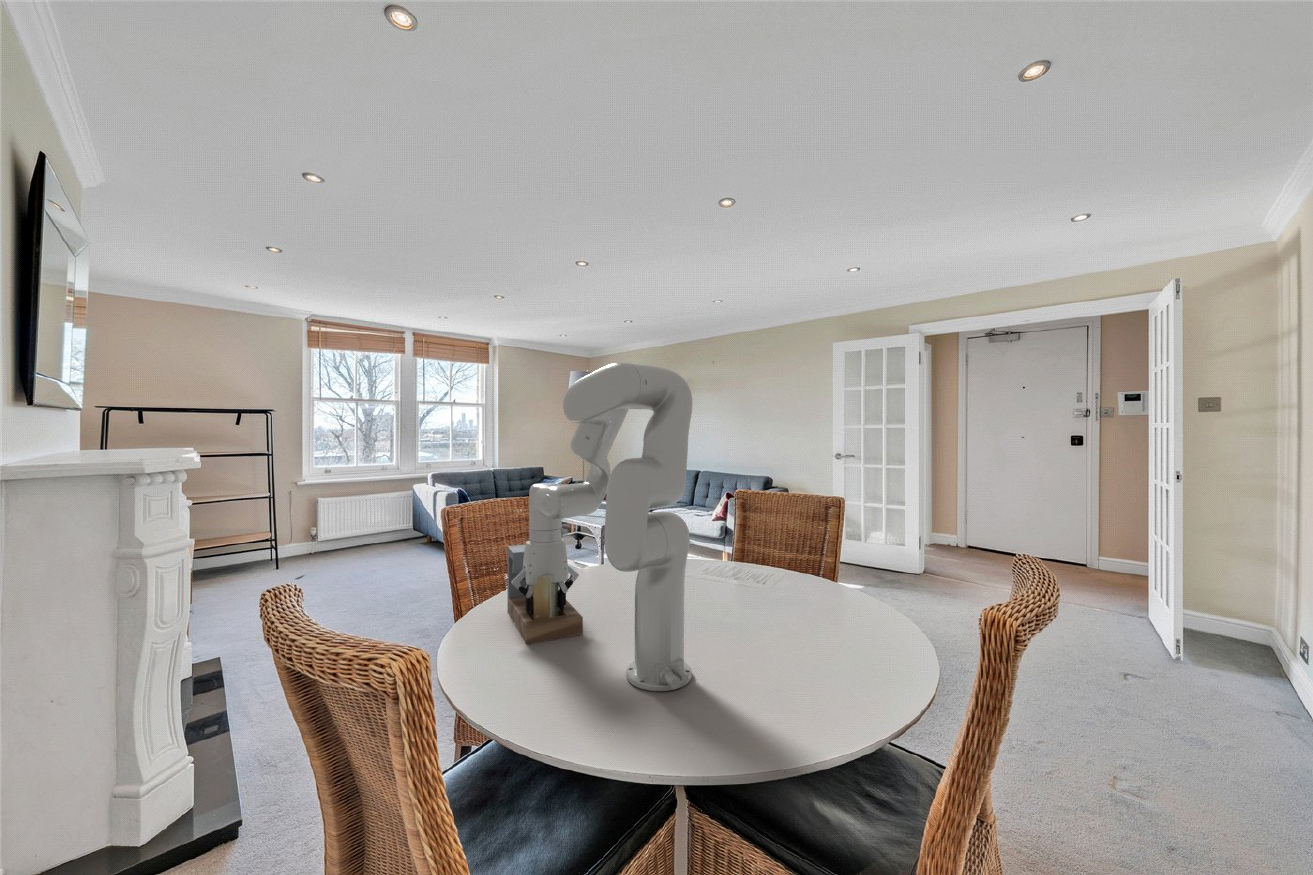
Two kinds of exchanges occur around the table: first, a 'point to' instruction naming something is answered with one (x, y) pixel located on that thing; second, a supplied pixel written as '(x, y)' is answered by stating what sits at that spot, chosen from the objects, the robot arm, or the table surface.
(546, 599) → the skincare box
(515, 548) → the grey overhang panel
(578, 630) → the socket block
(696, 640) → the table surface
